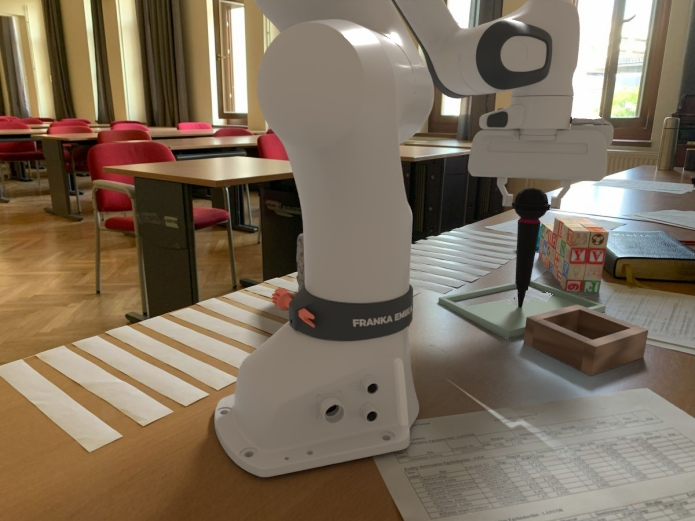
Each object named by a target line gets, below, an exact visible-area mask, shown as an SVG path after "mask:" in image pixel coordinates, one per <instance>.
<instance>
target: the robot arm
mask: <svg viewBox="0 0 695 521" xmlns="http://www.w3.org/2000/svg"><path fill="white" fill-rule="evenodd" d="M253 2H254V4H255V5H256V7H257V8H258V9H259V11H260V12H261V14H263V16H264V17H265V18H266V19H268V21H270V23H272V25H273V26H274V27H275V28H276V30H278V31H279V34H278V35H276V37H275V38H273V40H272V41H271V42H270V43H269V45H268V46H267V47H266V49H265V52H264V53H263V55H262V58H261V60H260V63H259V67H258V69H257V70H258V71H257V77H256V94H257V101H258V105H259V109H260V112H261V114H262V117H263V119H264V121H265V122H266V124H267V125H268V127H269V128H270V130H272V132H273V133H274V134H275V135H276V136H277V138H278V139H279V140H280V142H281V144H282V145H283V148H284V150H285V153H286V155H287V158H288V161H289V165H290V168H291V171H292V175H293V178H294V181H295V182H294V183H295V186H296V190H297V193H298V194H297V195H298V198H299V204H300V210H301V218H302V229H303V231H302V234H303V235H304V270H305V282H304V283H303V285H302V286H301V288H300V291H299V292H298V291H297V293H296V294H295V295H294V294H293V293H291V292H289V290H288V289H286V288H284V287H279V288H276V289H275V290H273V293H272V294H271V296H272V297H271V298H270V299H271V302H272V303H273V304H274V306H277V307H278V309H279V310H281V311H283V312H284V311H288V321H287V322H286V323H284V324H283V325H282V326H281V327H280V328H279V329H278V330H276V331H275V332H274V333H273V334H272V335H271V336H270V337H269V338H267V340H266V341H264V342H263V343H262V344H261V345H259V346H258V347H257V348H256V349H255V350H254V351H252V352H251V353H250V354H249V355H248V356H246V358H244V359H243V360H242V362H241V364H240V365H239V369H238V373H237V377H236V381H235V388H234V389H235V390H234V393H232V394H230V395H227V396H224V397H222V398H221V399H220V400H219V401H218V403H217V405H216V407H215V409H214V418H213V420H214V421H213V423H214V431H215V433H216V436H217V439H218V441H219V443H220V445H221V447H222V448H223V450H224V452H225V453H226V454H227V455H228V457H229V458H230V459H231V460H232V461H233V462H234V463H235V464H236V465H237V466H238V467H240V468H241V469H243V470H244V471H247V472H248V473H250V474H252V475H254V476H257V477H259V478H270V477H275V476H279V475H285V474H289V473H295V472H301V471H303V470H309V469H315V468H319V467H324V466H328V465H333V464H339V463H344V462H350V461H354V460H359V459H363V458H368V457H373V456H377V455H383V454H384V455H385V454H388V453H391V452H392V453H393V452H397V451H401V450H405V449H407V448H408V447H409V446H410V444H411V432H410V431H411V427H412V426H413V424H414V423H415V421H416V419H417V418H418V415H419V412H420V404H419V403H420V402H419V399H418V396H417V392H416V387H415V384H414V378H413V372H412V371H413V370H412V362H411V352H410V351H411V350H410V349H411V348H410V329H409V328H410V325H411V324H412V322H413V316H414V288H413V286H412V284H411V282H410V281H411V260H412V259H411V258H412V240H413V239H412V237H413V235H412V233H413V212H412V209H411V206H410V204H409V202H408V198H407V193H406V187H405V183H404V173H403V167H402V161H401V160H402V158H401V150H400V148H401V147H400V144H403V143H405V142H406V141H408V140H410V139H411V138H412V137H413V136H415V134H417V133H418V132H419V131H420V130H421V128H422V127H423V126H424V125H425V123H426V122H427V120H428V119H429V116H430V115H431V112H432V109H433V106H434V102H435V88H436V89H437V90H438V91H439V92H440V93H441V94H442V95H444V96H446V97H448V98H451V99H458V100H460V99H464V98H469V97H473V96H481V95H491V94H498V93H506V92H509V91H511V95H510V97H511V98H510V104H509V106H507V107H499V108H497V109H496V110H493V111H490V112H488V113H484V114H481V115H480V117H479V121H478V123H479V124H478V126H479V127H480V129H481V130H479V131H478V132H476V133H475V136H474V137H473V139H472V142H471V146H470V150H469V157H468V163H467V171H468V173H469V174H470V176H472V177H481V178H482V177H487V178H496V185H497V188H498V190H499V192H500V193H501V195H502V207H512V202H514V201H513V200H514V193H509V192H508V190H507V188H506V186H505V185H506V184H507V183H508V179H509V178H511V179H513V178H514V179H530V180H531V179H533V180H553V181H554V180H555V181H559V180H560V187H561V190H560V191H559V193H558V194H557V196H555V195H554V196H553V195H552V196H550V203H549V204H550V210H561V204H562V203H561V202H562V199H563V198H564V196H565V195H566V194H567V193H568V192H569V190H570V189H571V184H572V181H575V182H576V181H579V182H580V181H581V182H601V181H603V179H604V178H605V177H606V176H607V172H608V170H607V168H608V148H609V147H610V146H611V145H612V143H613V140H614V132H615V129H614V128H615V127H614V126H613V124H612V123H611V122H610V121H608V120H606V119H605V118H604V117H600V116H596V117H584V116H580V117H579V116H572V112H573V102H574V94H575V92H574V88H573V87H574V86H573V78H574V74H575V71H576V69H577V67H578V59H579V52H580V51H579V50H580V40H581V39H580V38H581V35H580V34H581V32H580V31H581V29H580V28H581V26H580V25H581V24H580V22H581V21H580V16H579V10H578V8H577V6H576V4H574V3H573V2H571V0H526V2H525V3H524V4H523V5H521V7H519V8H518V9H516V10H514V11H512V12H511V13H508V14H506V15H505V16H502V17H499V18H496V19H494V20H491V21H489V22H485V23H482V24H479V25H477V26H474V27H471V28H469V27H467V26H464V25H461V24H460V23H459V22H458V21H456V19H455V18H454V16H453V14H452V12H451V10H450V9H449V7H448V6H447V4H446V2H445V0H253ZM404 22H405V23H404ZM406 26H407V27H406ZM407 28H408V29H409V31H410V32H411V34H412V36H413V37H414V39H415V41H416V43H418V46H419V47H420V50H421V51H422V53H423V57H424V59H425V61H424V59H423V57H422V56H421V54H420V52H419V50H418V48H417V46H416V44H415V43H414V39H413V38H412V37H411V34H410V32H409V31H408V29H407ZM604 124H605V125H604ZM606 124H607V125H606Z"/></svg>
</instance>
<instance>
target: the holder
mask: <svg viewBox="0 0 695 521" xmlns="http://www.w3.org/2000/svg"><path fill="white" fill-rule="evenodd" d="M648 334H649V329H647V328H643V327H640V326H638V325H635V324H632V323H629V322H627V321H624V320H622V319H619V318H616V317H613V316H611V315H608V314H606V313H605V314H603V313H600V312H597V311H595V310H592V309H589V308H586V307H584V306H581V305H578V304H577V305H573V306H569V307H565V308H561V309H557V310H553V311H549V312H545V313H541V314H537V315H533V316H529V317H526V326H525V335H524V336H523V344H525V345H527V346H529V347H531V348H532V349H535V350H537V351H539V352H541V353H543V354H545V355H548V356H549V357H552V358H554V359H556V360H558V361H560V362H562V363H564V364H566V365H568V366H570V367H572V368H574V369H576V370H578V371H580V372H582V373H583V374H584V373H585V374H587V375H589V376H591V377H592V376H595V375H597V374H600V373H603V372H606V371H609V370H612V369H614V368H617V367H619V366H623V365H626V364H628V363H631V362H634V361H636V360H637V361H638V360H639V359H642V358H644V356H645V352H646V346H647V340H648Z"/></svg>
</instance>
